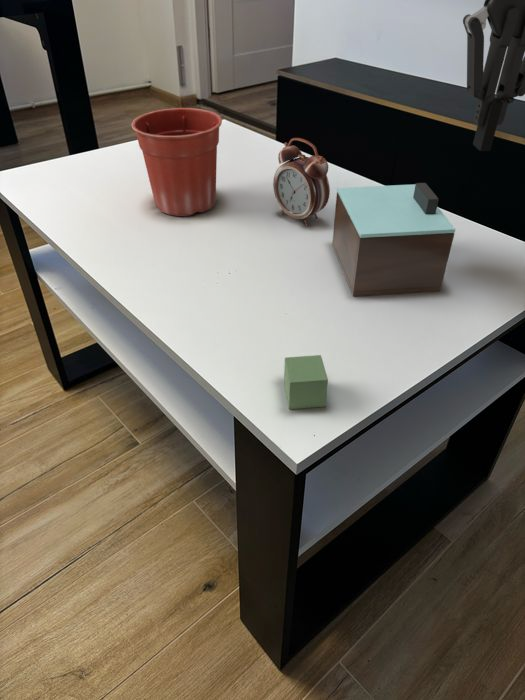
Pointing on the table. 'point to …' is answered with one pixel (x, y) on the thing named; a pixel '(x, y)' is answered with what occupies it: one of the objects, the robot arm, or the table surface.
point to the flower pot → (180, 157)
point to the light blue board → (394, 210)
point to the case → (389, 259)
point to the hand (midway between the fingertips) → (481, 147)
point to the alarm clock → (301, 182)
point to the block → (305, 382)
